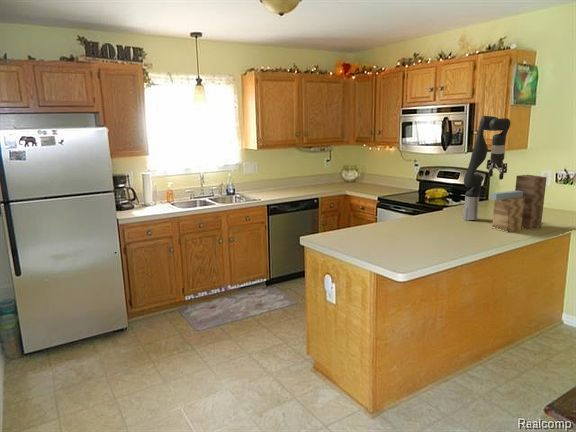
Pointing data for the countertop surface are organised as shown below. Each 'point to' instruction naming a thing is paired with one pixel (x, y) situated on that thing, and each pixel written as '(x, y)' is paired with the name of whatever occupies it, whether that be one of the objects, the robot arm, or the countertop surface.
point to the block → (508, 214)
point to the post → (532, 199)
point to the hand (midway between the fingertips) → (495, 177)
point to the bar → (507, 195)
